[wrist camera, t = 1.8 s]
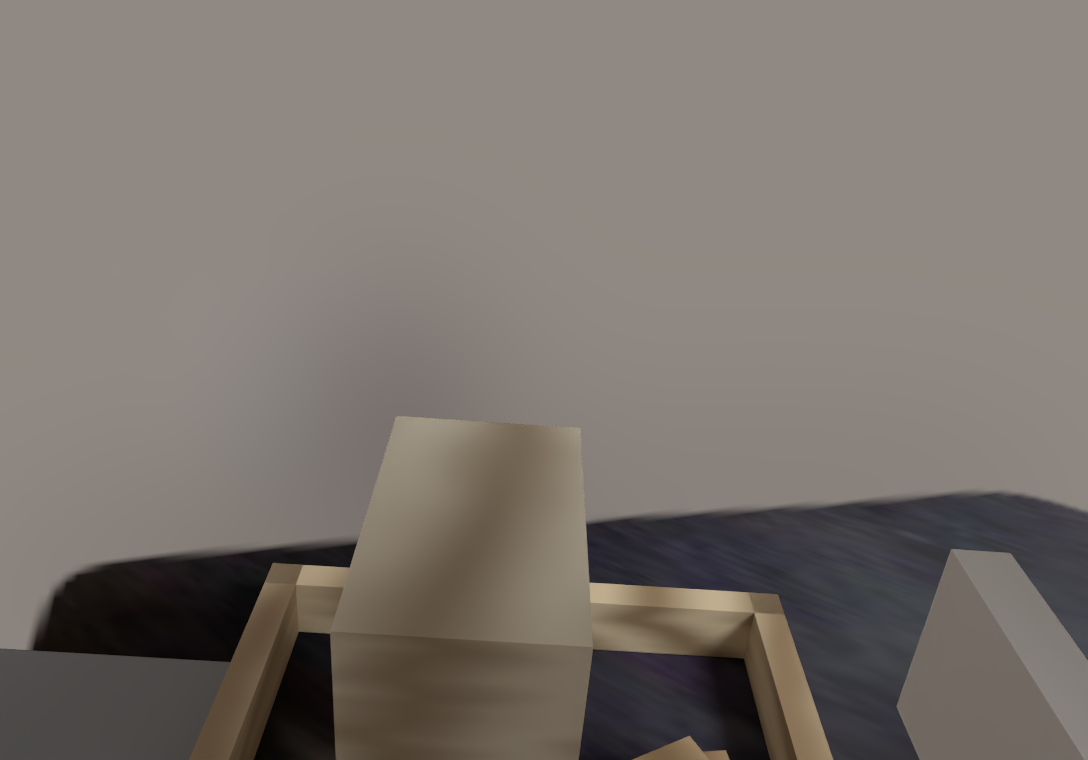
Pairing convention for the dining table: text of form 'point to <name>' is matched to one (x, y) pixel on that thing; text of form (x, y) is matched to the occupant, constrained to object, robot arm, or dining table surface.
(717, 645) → the wooden frame
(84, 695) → the slate board
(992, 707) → the robot arm
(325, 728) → the dining table surface
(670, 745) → the offcut upper
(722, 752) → the offcut lower
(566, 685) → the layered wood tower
